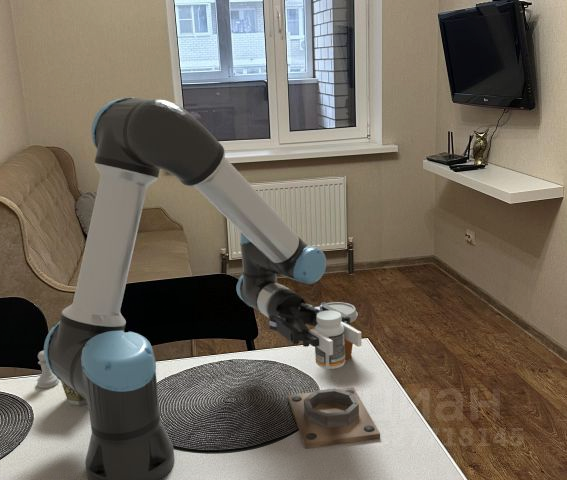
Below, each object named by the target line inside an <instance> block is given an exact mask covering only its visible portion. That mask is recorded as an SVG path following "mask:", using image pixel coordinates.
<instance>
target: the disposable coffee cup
mask: <svg viewBox="0 0 567 480" xmlns="http://www.w3.org/2000/svg"><path fill="white" fill-rule="evenodd" d="M326 303H327V302H326ZM327 305H328V306H330V307H332V308H334V309H336V310H338V311H340V312H342V313H344V314H346V315H348V316H350V325H351V326H353V327H354V328H355V329H356V326H355V325H356V320H357V317H358V312H357V310H356V307H355V305H353V304H351V303H348V302H341V301H337V302H336V301H334V302H333V301H332V302H328V303H327ZM353 345H354V344H353V343H351V342H349V341H348V340H346V339H345V362H347V361H349V360H350V359H351V358H352V354H353V353H352V351H353Z"/></svg>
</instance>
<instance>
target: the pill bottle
mask: <svg viewBox="0 0 567 480" xmlns="http://www.w3.org/2000/svg"><path fill="white" fill-rule="evenodd" d="M316 321H317V323H318V324H317V325H316V326H314V329H315V330H316V331H318V332H319V333H321V334H323V335H324V336H326V337H328V338H329V339H331V340H332V341H333V355H328V354H326V353H325V352H323V351H322V350H320V349H319V348H317V347H314V354H315V364H317V366H318V367H320V368H323V369H326V370H328V369H329V370H334V369H338V368H341V367H343V366H344V365H345V363H346V361H345V332H344V327H343V325H342V324H340V323H341V321H342V317H341V314H340V313H339V312H337V311H330V310H329V311H322V312H319V313H318V314H317V316H316Z"/></svg>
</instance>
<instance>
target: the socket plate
mask: <svg viewBox="0 0 567 480" xmlns="http://www.w3.org/2000/svg"><path fill="white" fill-rule="evenodd" d="M287 400H288V403H289V406H290V408H291V411H292V415H293V418H294V419H295V424H296V426H297V428H298V430H299V434H300V437H301V440H302V442H303V445H304V447H305V449H311V448H318V447H327V446H334V445H342V444H349V443H356V442H363V441H370V440H378V439H379V440H380V439H381V432H380V430H379V428H378V427H377V426H376V424H375V421H374V420H373V419H372V417H371V415H370V413H369V411H368V410H367V408H366V406H365V405H364V402H363V401H362V400H361V398H360V396H359V394H358V393H357V390H356V389H355V387H344V388H327V389H326V388H325V389H319V390H314V391H312V392H304V393H303V392H302V393H297V394H288V395H287Z"/></svg>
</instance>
